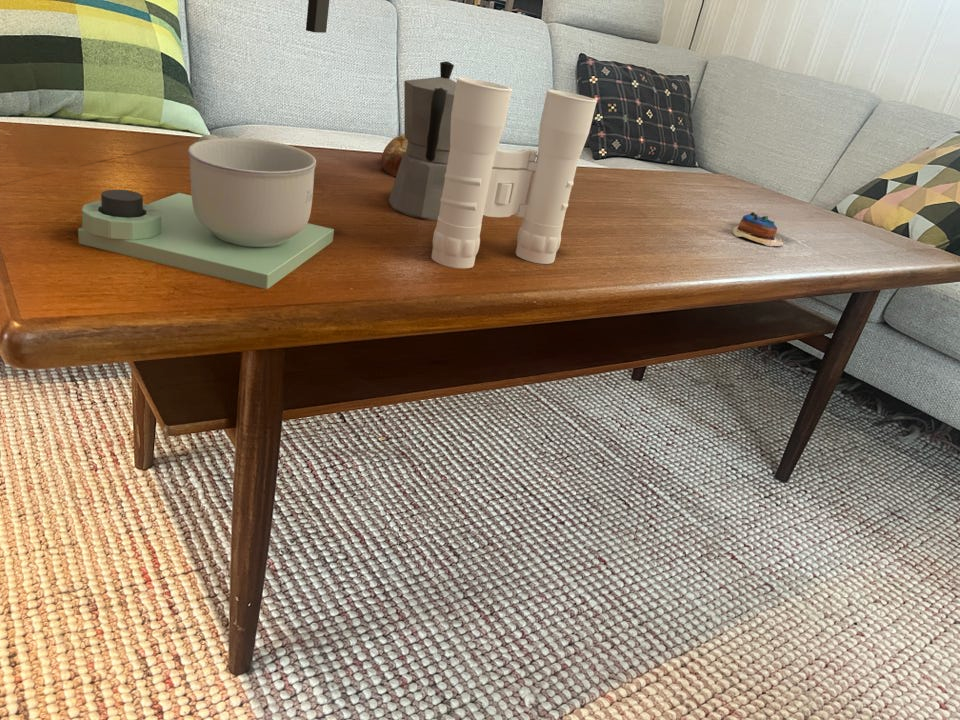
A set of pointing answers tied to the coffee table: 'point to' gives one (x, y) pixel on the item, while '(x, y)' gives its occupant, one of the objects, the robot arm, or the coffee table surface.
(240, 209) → the teacup
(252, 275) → the scale
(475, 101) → the binoculars
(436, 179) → the coffeepot
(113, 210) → the button
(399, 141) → the bread roll
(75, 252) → the coffee table surface
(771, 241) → the dessert
